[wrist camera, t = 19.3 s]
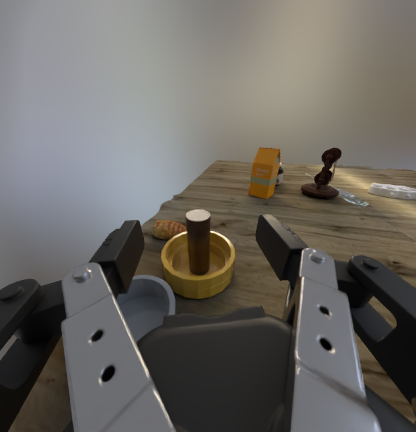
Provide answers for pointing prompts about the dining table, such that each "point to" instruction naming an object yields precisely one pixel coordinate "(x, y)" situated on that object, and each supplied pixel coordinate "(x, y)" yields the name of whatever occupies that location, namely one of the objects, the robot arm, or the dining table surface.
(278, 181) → the spread jar
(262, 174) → the orange juice
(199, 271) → the brown cylinder
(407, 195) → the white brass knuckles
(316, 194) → the brown wooden sculpture
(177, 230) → the pastry
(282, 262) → the robot arm
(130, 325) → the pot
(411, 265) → the dining table surface
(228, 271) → the bowl
